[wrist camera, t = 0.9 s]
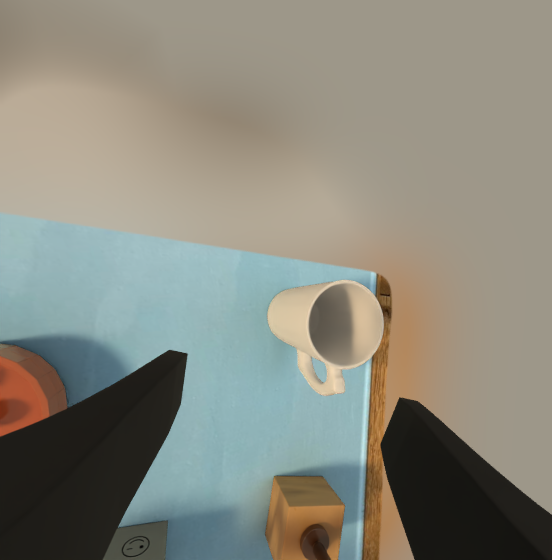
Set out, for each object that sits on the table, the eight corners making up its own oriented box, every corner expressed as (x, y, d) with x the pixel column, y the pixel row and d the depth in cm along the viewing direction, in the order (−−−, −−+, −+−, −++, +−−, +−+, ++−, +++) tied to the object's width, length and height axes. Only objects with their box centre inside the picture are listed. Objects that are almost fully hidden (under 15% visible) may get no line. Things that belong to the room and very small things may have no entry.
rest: (315, 532, 33) (336, 571, 28) (264, 534, 31) (278, 576, 27) (323, 476, 34) (345, 505, 29) (273, 475, 32) (289, 506, 27)
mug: (264, 285, 33) (306, 278, 22) (319, 286, 35) (383, 280, 24) (264, 376, 32) (306, 418, 21) (319, 372, 34) (385, 408, 23)
